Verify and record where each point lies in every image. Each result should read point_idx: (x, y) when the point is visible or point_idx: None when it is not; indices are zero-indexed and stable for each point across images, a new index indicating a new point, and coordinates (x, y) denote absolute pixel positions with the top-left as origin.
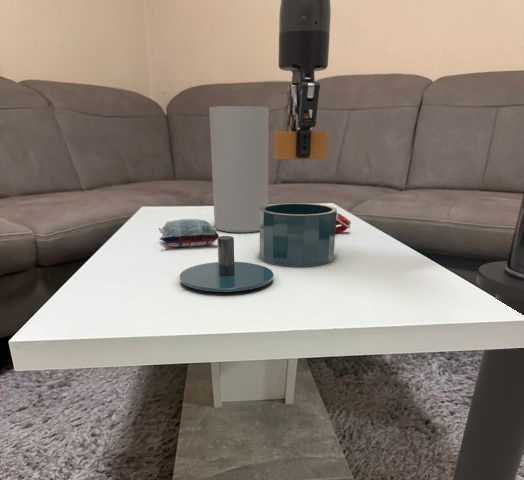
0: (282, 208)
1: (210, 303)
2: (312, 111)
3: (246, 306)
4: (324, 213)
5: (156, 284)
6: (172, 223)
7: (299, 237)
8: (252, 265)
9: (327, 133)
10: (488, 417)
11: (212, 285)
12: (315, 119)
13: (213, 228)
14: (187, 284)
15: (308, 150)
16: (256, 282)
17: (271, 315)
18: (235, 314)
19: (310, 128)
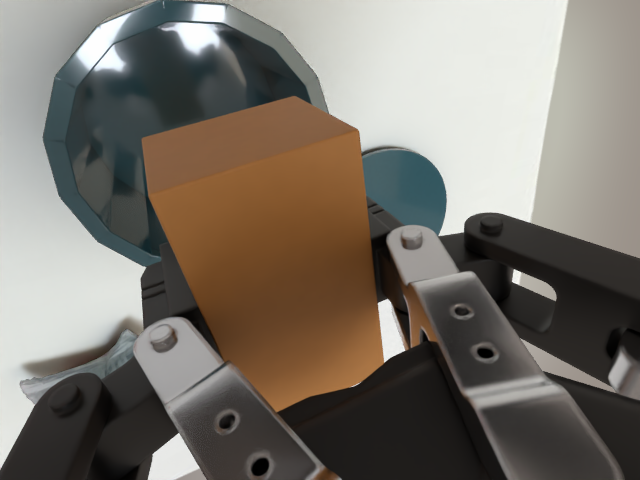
0: (107, 221)
1: (460, 212)
2: (543, 271)
3: (476, 164)
4: (294, 59)
5: (386, 303)
6: None
7: None
8: None
9: (354, 129)
10: None
11: (433, 227)
12: (529, 225)
13: (45, 385)
14: None
15: (369, 197)
16: (426, 170)
17: (509, 126)
18: (497, 171)
19: (452, 234)
